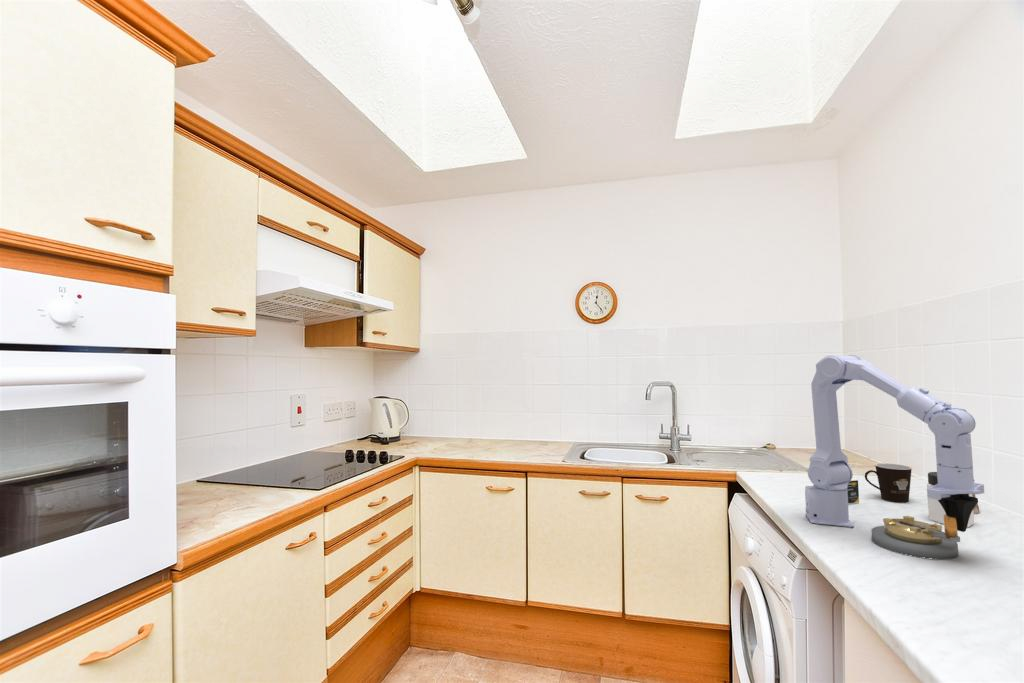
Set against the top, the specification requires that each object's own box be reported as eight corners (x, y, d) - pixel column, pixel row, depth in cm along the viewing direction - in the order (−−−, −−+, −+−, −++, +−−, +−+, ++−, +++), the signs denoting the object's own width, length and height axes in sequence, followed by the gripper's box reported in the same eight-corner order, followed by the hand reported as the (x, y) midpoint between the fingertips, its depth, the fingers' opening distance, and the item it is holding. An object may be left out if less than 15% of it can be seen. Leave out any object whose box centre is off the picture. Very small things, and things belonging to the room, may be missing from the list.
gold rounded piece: (873, 531, 111) (872, 501, 112) (907, 527, 113) (905, 498, 114) (939, 553, 98) (936, 520, 98) (975, 549, 100) (973, 515, 100)
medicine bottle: (841, 505, 138) (839, 464, 138) (819, 499, 145) (817, 459, 145) (859, 503, 140) (857, 462, 140) (837, 496, 147) (835, 457, 147)
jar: (967, 529, 117) (964, 480, 117) (925, 521, 123) (922, 474, 124) (978, 522, 122) (974, 475, 122) (936, 514, 128) (934, 470, 129)
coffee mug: (910, 498, 144) (908, 465, 144) (916, 505, 136) (914, 470, 137) (863, 493, 150) (861, 461, 150) (866, 500, 142) (864, 466, 143)
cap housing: (883, 553, 103) (882, 544, 103) (863, 530, 117) (863, 522, 117) (972, 563, 97) (971, 553, 98) (940, 538, 111) (940, 530, 111)
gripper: (953, 472, 95) (957, 540, 95) (1000, 466, 99) (1004, 532, 99) (914, 465, 102) (918, 529, 101) (960, 460, 106) (964, 521, 105)
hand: (958, 530), depth 100 cm, fingers closed
